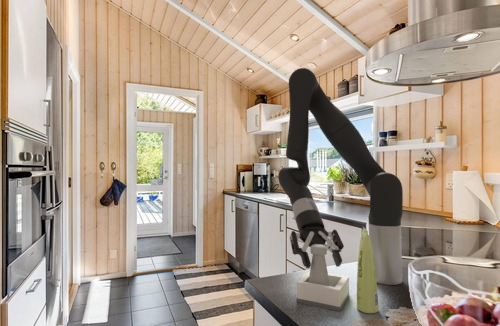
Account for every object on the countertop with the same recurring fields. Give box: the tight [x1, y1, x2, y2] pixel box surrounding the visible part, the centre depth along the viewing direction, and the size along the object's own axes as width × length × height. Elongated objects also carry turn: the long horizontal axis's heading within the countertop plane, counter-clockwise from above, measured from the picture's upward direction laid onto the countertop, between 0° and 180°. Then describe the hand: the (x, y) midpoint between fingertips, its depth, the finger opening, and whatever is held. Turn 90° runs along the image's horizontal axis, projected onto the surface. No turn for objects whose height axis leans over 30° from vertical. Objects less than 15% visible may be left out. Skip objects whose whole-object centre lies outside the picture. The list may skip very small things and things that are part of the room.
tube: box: [356, 226, 379, 314], centre depth 74 cm, size 6×5×20 cm
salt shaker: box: [308, 244, 330, 286], centre depth 81 cm, size 6×6×13 cm
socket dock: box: [295, 270, 350, 312], centre depth 80 cm, size 11×11×5 cm
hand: (324, 266), depth 80 cm, fingers open, 8 cm apart
